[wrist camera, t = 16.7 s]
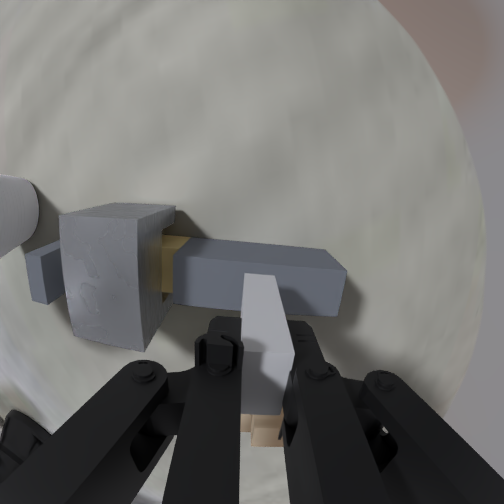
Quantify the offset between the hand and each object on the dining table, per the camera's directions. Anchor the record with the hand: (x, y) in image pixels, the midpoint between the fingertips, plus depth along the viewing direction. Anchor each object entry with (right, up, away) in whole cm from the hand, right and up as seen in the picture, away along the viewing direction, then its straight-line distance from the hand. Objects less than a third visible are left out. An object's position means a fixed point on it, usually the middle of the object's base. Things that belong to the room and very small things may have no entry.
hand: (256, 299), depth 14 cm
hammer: (-4, +2, +6) cm, 8 cm away
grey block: (-8, +2, +6) cm, 11 cm away
